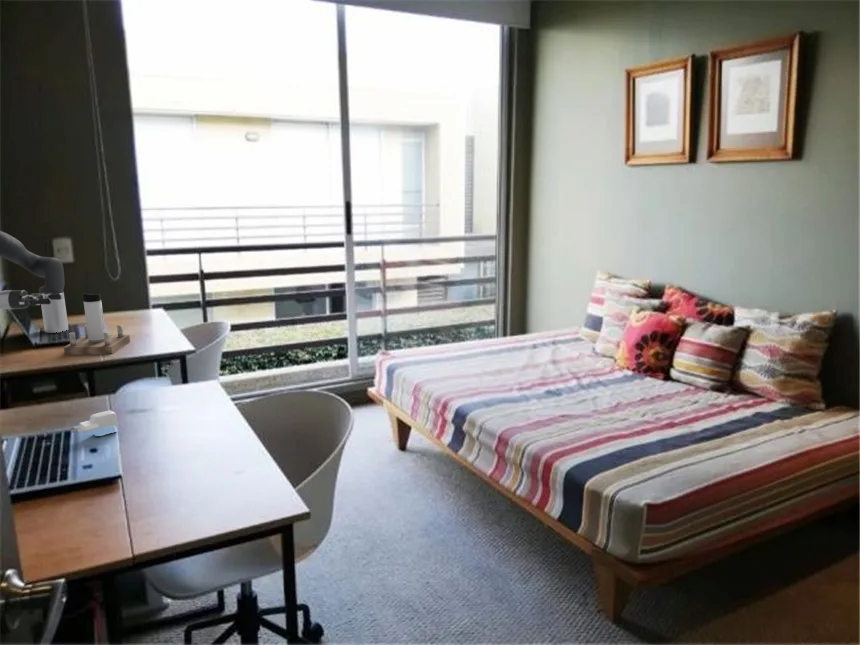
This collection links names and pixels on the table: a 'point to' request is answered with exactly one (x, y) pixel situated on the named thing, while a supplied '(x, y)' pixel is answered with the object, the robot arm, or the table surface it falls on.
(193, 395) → the table surface
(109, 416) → the power adapter
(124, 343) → the peg stand
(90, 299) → the travel mug
